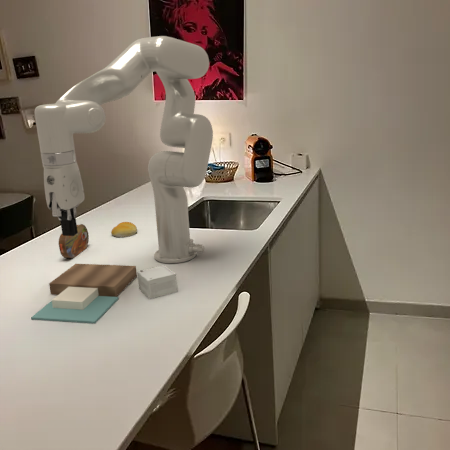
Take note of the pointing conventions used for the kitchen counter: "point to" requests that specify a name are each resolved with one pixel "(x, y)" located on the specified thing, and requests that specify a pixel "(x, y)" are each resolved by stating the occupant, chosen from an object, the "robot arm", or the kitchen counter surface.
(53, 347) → the kitchen counter surface
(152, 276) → the small box
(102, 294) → the board
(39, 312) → the mat
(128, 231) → the bread roll
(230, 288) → the kitchen counter surface
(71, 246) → the tin
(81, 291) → the tile
